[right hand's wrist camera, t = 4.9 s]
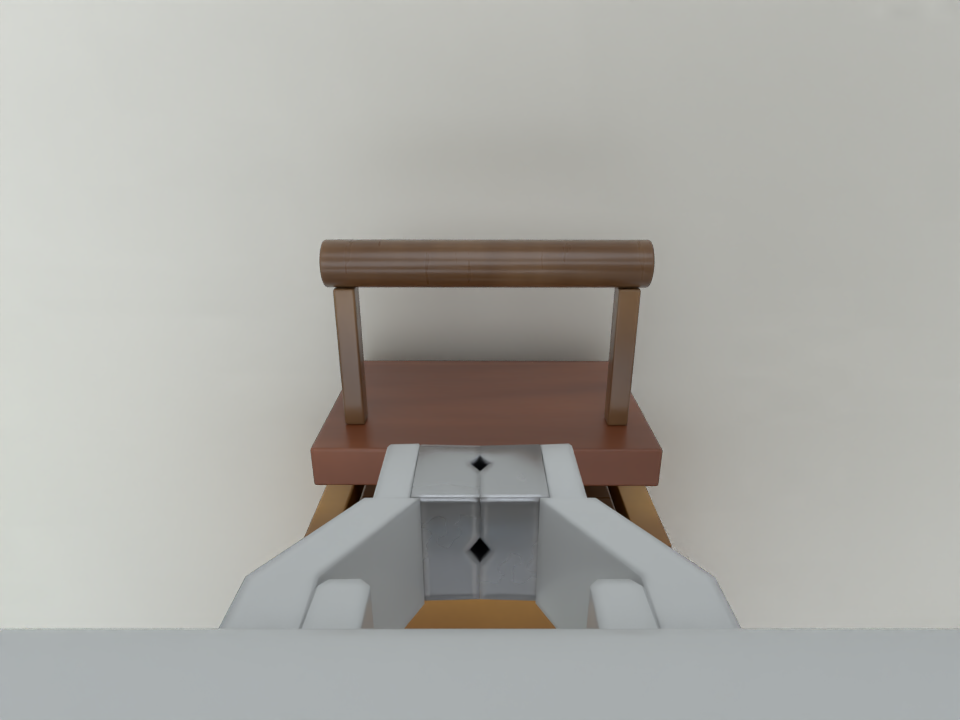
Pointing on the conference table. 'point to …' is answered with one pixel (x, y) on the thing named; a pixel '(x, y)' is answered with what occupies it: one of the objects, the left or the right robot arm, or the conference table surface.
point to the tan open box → (486, 611)
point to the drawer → (488, 364)
